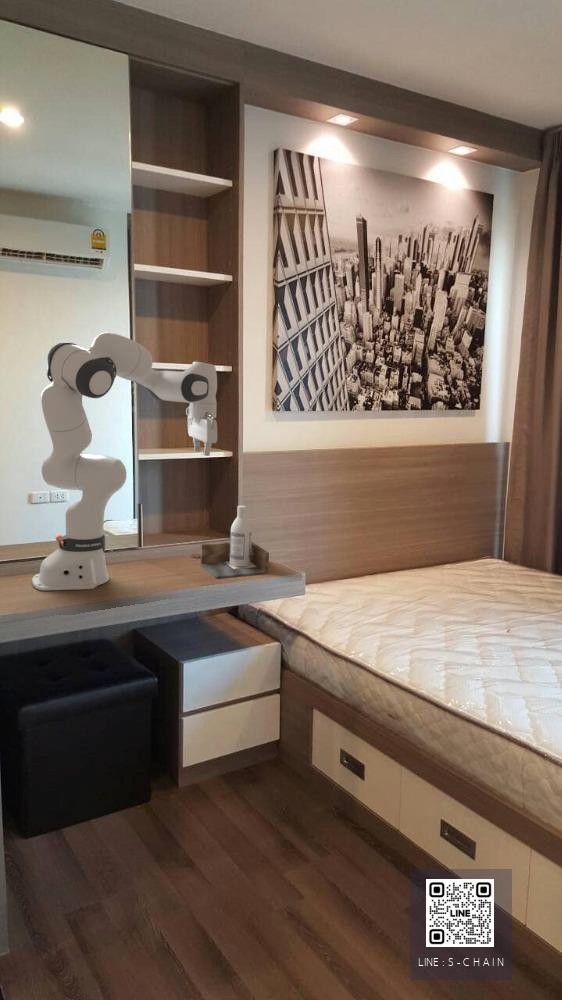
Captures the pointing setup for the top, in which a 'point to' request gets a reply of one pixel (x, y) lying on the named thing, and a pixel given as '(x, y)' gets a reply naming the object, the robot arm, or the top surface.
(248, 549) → the bath foam
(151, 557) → the top surface
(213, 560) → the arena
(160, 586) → the top surface
